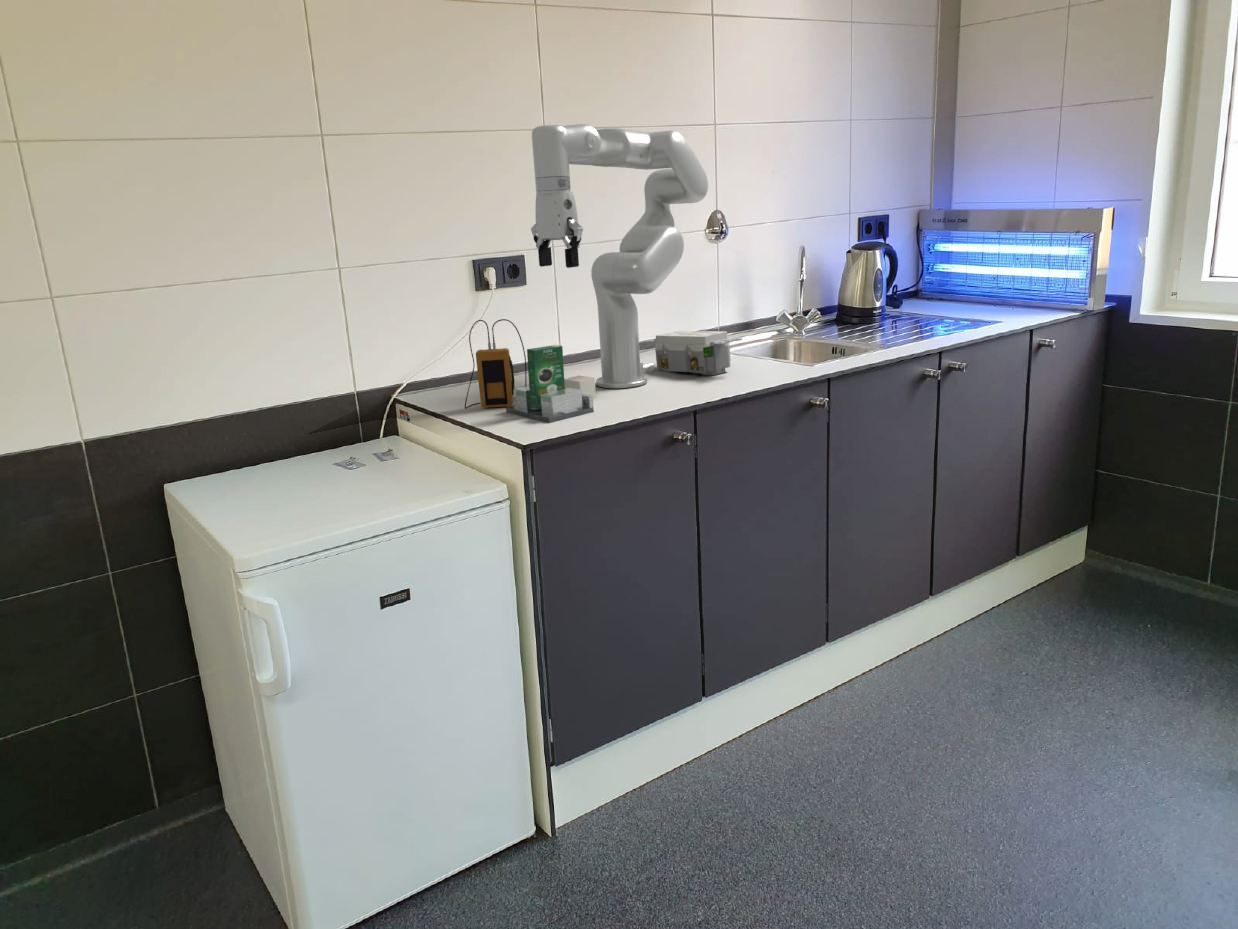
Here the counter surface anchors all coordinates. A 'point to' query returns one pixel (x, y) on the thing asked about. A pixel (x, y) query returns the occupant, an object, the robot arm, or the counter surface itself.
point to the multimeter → (495, 374)
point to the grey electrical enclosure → (693, 351)
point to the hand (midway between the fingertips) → (558, 266)
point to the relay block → (582, 384)
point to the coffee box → (545, 372)
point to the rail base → (545, 416)
